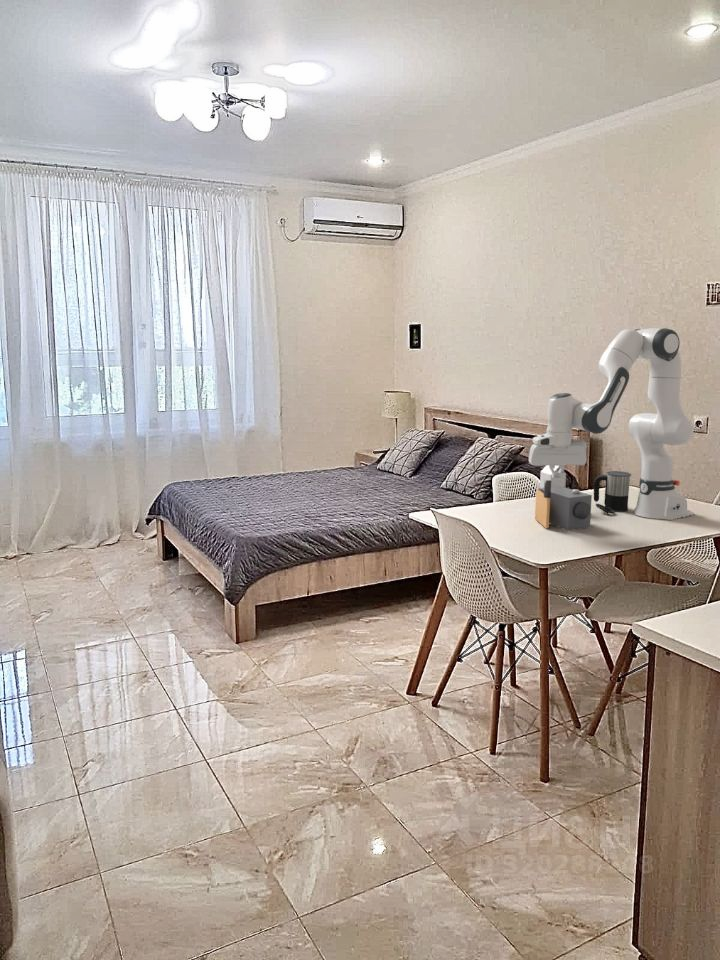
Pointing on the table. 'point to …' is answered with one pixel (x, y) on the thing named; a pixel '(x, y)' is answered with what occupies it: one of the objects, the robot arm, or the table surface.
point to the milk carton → (547, 475)
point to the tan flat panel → (543, 504)
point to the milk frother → (613, 491)
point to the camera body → (569, 508)
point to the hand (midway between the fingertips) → (556, 477)
